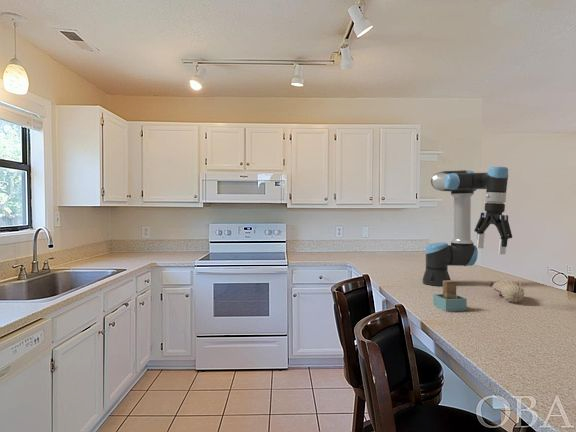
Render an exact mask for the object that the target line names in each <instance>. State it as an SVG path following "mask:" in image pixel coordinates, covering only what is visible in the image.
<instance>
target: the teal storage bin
mask: <svg viewBox="0 0 576 432" xmlns="http://www.w3.org/2000/svg"><path fill="white" fill-rule="evenodd" d="M432 297H433V298H432V299H433V300H432V301H433V302H432V304H433V305H434V306H433V307H435V306H436V308H437V307H438V308H437V309H439V308H440V310H441V309H442V310H441V311H443V310H444V312H445V311H449V312H463V311H467V303H468V302H467V300H468V299H467V298H465V297H462V296H460V295H458V294H456V299H444V298H443V293H437V294H433V295H432Z"/></svg>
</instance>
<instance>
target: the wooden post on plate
mask: <svg viewBox="0 0 576 432" xmlns="http://www.w3.org/2000/svg"><path fill="white" fill-rule="evenodd" d="M442 294H443V298H444V299H456V295H457V281H456V280H451V279H450V280H447V281H443V286H442Z"/></svg>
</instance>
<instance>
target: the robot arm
mask: <svg viewBox="0 0 576 432" xmlns="http://www.w3.org/2000/svg"><path fill="white" fill-rule="evenodd" d="M508 180H509V168H508V167H507V166H490V167H489V168H488V170H487V172H474V171H473V170H466V169H465V170H443V171H440V172H437V173H435V174H433V176H432V177H431V179H430V184H431V186H432V188H434V189H435V190H436V191H441V192H450V196H452V197H453V239H452V240H451V241H450V244H448V242H434V243H429V244H427V245H426V246H425V253H424V254H425V269H424V273H423V277H422V283H423V284H424V285H427V286H433V287H434V286H435V287H443V281H447V280H451V277H450V274H449V270H448V266H449V267H450V266H455V267H458V266H459V267H462V266H463V267H469V266H470V267H472V266H473V265H474V264H476V262H477V259H478V257H479V255H478V254H479V252H478V251H479V250H478V249H484V245H485V244H484V243H485V232H486V230H487V229H488V228H489V226H490V225H494V226H495V227H496V229H497V231H498V233H499V236H500V238H499V244H498V251H497V252H498V253H497V254H498V255H506V251H507V247H508V240H509V239H512V238H513V235H512V230H511V227H510V223H509V215H508V214H503V213H505V210H506V209H505V208H506V204H505V203H506V201H507V191H508V189H507V188H508V182H509V181H508ZM477 190H486V191H485V202H486V203H484V211H485V212H480V217H479V218H478V221H477V223H476V225H475V227H474V230H473V231H474V232H475V233H476V234H477V235H476V237H477V238H476V240H477V242H476V245H475V244H474V241H473V240H471V238H472V237H471V233H472V232H471V226H472V225H471V223H472V222H471V218H472V217H471V209H472V207H471V206H472V204H471V202H472V201H471V200H472V199H471V198H472V196H473V195H474V194H475V193H474V192H476V191H477Z"/></svg>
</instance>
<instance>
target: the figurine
mask: <svg viewBox="0 0 576 432" xmlns="http://www.w3.org/2000/svg"><path fill="white" fill-rule="evenodd" d="M518 283H519V284H517V283H516V282H513V281H511V280H505V279H504V280H498V281H496V282H494V281H492V280H490V282H489V285H488V286H489V287H490V288H492V287H493V289H494V290H495V291H496V292H499V293H498V296H499V297H501V298H502V297H503V298H504V299H505V300H506V301H508V302H510V303H514V304H515V303H519V302H521V301H522V300H523V299H524V296H525V292H524V291H525V290H524V289H523V288H522V283H521V282H520V281H518Z"/></svg>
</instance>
